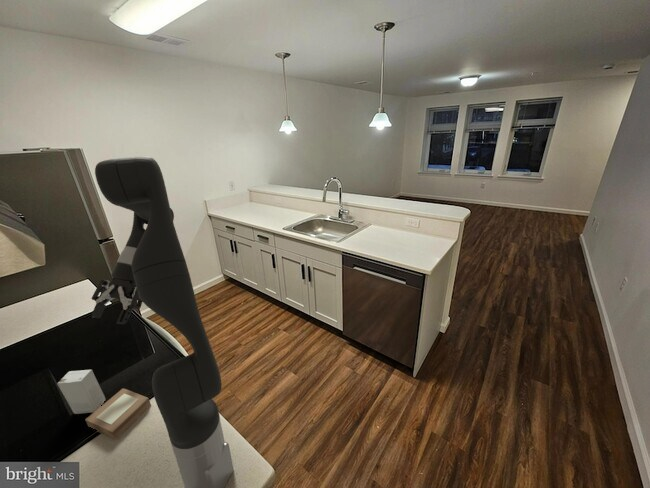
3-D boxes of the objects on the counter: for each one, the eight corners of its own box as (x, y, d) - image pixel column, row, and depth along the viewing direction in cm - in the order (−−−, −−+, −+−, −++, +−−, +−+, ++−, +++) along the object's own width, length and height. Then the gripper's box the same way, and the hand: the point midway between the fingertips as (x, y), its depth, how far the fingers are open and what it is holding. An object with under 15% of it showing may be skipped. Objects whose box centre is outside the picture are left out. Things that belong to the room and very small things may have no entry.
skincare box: (106, 399, 78) (93, 367, 74) (96, 413, 74) (81, 381, 70) (84, 401, 78) (69, 369, 73) (72, 415, 74) (56, 383, 69)
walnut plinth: (150, 405, 76) (148, 397, 75) (115, 440, 68) (112, 431, 67) (125, 395, 79) (122, 387, 78) (88, 427, 71) (85, 419, 69)
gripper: (101, 257, 76) (74, 314, 71) (142, 265, 74) (117, 325, 69) (123, 264, 83) (99, 316, 78) (162, 271, 81) (140, 326, 76)
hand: (108, 320), depth 74 cm, fingers open, 8 cm apart
